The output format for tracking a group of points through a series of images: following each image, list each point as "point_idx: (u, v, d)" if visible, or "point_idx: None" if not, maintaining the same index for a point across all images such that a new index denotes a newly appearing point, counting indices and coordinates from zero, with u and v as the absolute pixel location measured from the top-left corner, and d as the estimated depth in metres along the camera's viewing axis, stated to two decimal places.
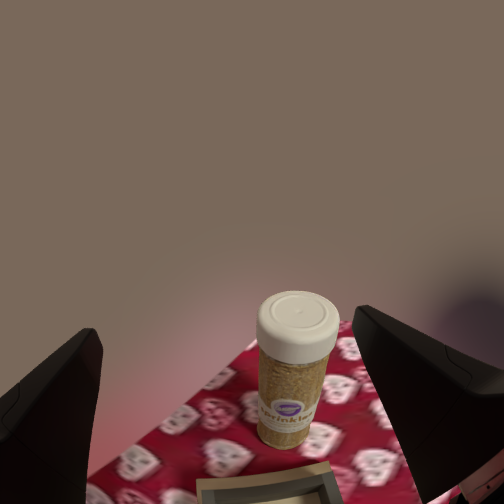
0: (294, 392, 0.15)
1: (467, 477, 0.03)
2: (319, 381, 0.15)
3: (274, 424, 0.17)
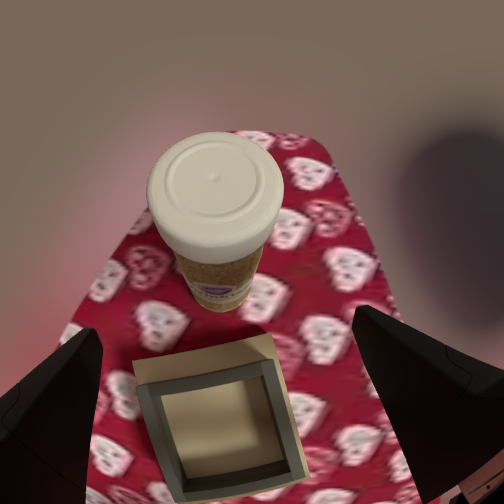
0: (218, 280, 0.12)
1: (467, 477, 0.03)
2: (253, 263, 0.12)
3: (203, 297, 0.16)
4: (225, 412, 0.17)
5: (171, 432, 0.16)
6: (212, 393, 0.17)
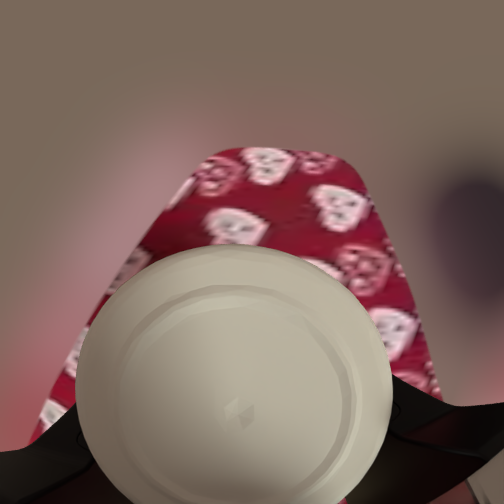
0: None
1: None
2: None
3: None
4: None
5: None
6: None
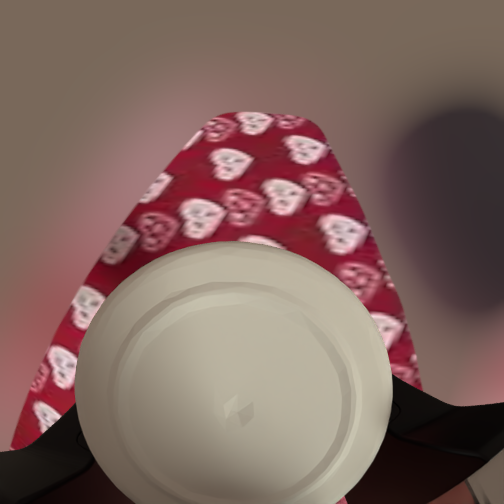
0: None
1: None
2: None
3: None
4: None
5: None
6: None
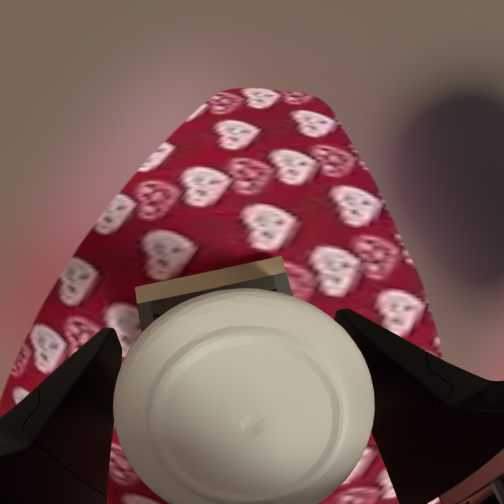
0: None
1: (446, 491, 0.03)
2: None
3: None
4: None
5: None
6: None
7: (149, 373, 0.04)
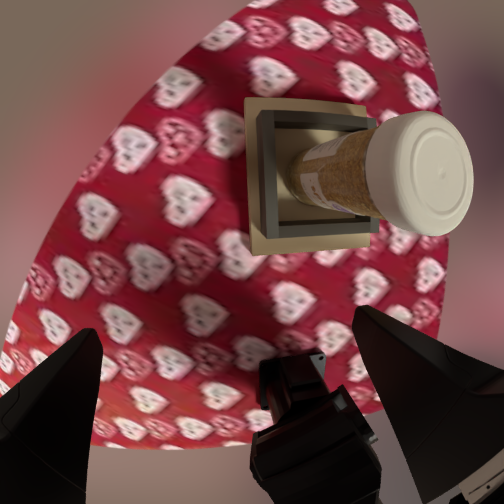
0: None
1: (467, 477, 0.03)
2: None
3: (319, 203, 0.17)
4: None
5: None
6: (313, 138, 0.20)
7: (415, 135, 0.07)
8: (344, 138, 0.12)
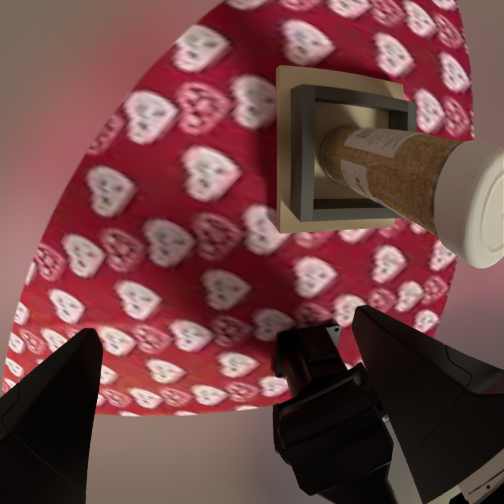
0: None
1: (467, 477, 0.03)
2: None
3: (359, 192, 0.15)
4: None
5: None
6: (349, 115, 0.17)
7: (492, 178, 0.06)
8: (402, 140, 0.10)
